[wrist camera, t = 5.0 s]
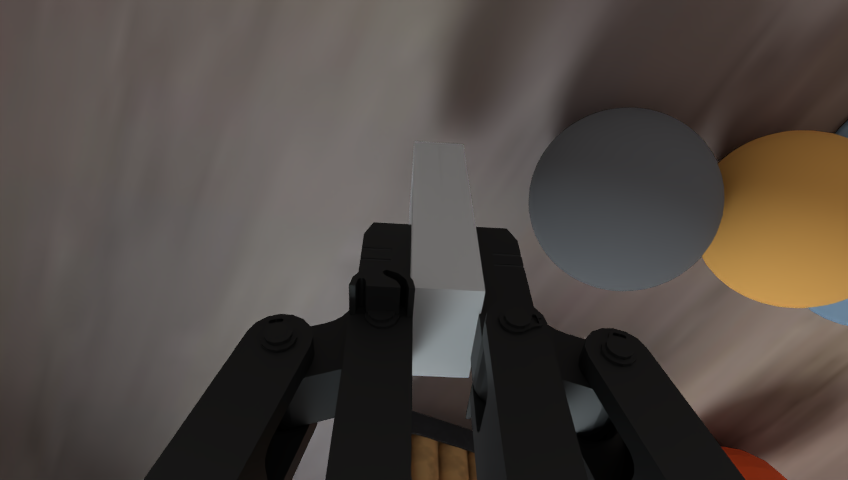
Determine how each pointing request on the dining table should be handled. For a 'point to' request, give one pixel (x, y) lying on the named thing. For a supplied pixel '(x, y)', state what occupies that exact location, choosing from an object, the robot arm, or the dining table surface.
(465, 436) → the ammunition clip
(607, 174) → the dark grey sphere
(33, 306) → the dining table surface
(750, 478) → the clementine
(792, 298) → the orange ball
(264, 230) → the dining table surface
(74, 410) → the dining table surface
